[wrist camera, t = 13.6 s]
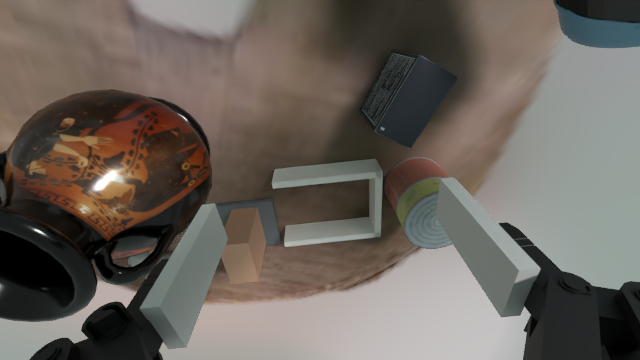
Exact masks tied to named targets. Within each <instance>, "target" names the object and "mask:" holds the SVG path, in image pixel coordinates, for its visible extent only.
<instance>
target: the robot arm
mask: <svg viewBox="0 0 640 360" xmlns="http://www.w3.org/2000/svg"><path fill="white" fill-rule="evenodd" d="M553 2H554V5H555V6H556V8H557V9H558V15H559V21H560V26H561V30H562V31H563V33H564V34H565V35H566V36H568V38H569V39H571V40H572V41H573V42H576V43H578V44H581V45H585V46H590V47H598V48H627V47H638V46H640V0H553ZM435 217H436V219H437V220H438V222H439V223H440V225H441V226H442V228H443V229H444V231H445V232H446V234H447V235H448V237H449V238H450V240H451V242H452V243H453V244H454V246H455V248H456V249H457V251H458V252H459V254H460V255H461V257H462V258H463V260H464V261H465V263H466V264H467V266H468V267H469V269H470V270H471V272H472V274H473V275H474V277H475V278H476V280H477V281H478V283H479V284H480V286H481V287H482V289H483V290H484V292H485V293H486V295H487V296H488V298H489V299H490V301H491V302H492V304H493V305H494V307H495V309H496V310H497V311H498V313H499V315H500V316H501V317H508V316H519V315H521V312H522V310H523V308H524V306H525V307H526V309H527V310H528V311H529V313H530V314H531V316H530V318H529V321H528V323H527V325H526V327H525V329H524V331H525V332H527V336H526V344H525V351H524V357H523V360H640V282H632V281H631V282H627V283H624V284H623V286H622V287H621V288H620V290H615V289H607V288H601V287H595V286H592V285H590V283H589V282H587V281H586V280H584V279H583V278H581V277H579V276H577V275H574V274H572V273H567V272H562V271H561V270H560V269H559V268H558V267H557V266H556V265H555V264H554V263H553V262H552V261H551V260H550V259H549V258H548V257H547V256H546V255H545V254H544V253H543V252H542V251H541V250H539V249H538V248H537V247H536V246H534V244H533V243H532V242H531V241H530V240H529V239H527V237H526V236H525V235H524V234H523V233H522V232H521V231H520V230H519V229H517V228H516V227H514V226H512V225H510V224H509V223H497V222H496V221H495V220H494V219H493V218H492V217H491V216H490V215H489V214H488V213H487V212H486V210H484V208H483V207H482V206H481V205H480V204H479V203H478V202H477V201H476V200H475V199H474V198H473V197H472V196H471V195H470V194H469V193H468V191H467V190H466V189H465V188H464V187H463V186H462V185H461V184H460V183H459V182H458V181H457V180H456V179H455V178H454V177H450V178H441V179H440V185H439V192H438V200H437V207H436V214H435ZM227 240H228V237H227V234H226V232H225V229H224V226H223V224H222V221H221V218H220V216H219V213H218V210H217V208H216V205H215V203H213V204H204V205H202V206H201V207H200V209H199V211H198V212H197V214H196V216H195V217H194V219H193V220H192V222H191V224H190V225H189V227H188V229H187V230H186V232H185V234H184V235H183V237H182V239H181V240H180V242H179V244H178V245H177V247H176V249H175V250H174V252H173V254H172V255H171V257H170V258H169V259H162V260H161V261H160V262H159V263H158V264H156V265H155V266H154V267H153V268H152V270H151V271H150V273H149V275H148V276H147V279H145V281H144V282H143V284H142V287H140V288H139V290H138V291H137V293H136V295H135V296H134V298H133V299H132V301H131V302H130V304H129V305H128V307H127V308H125V307H124V305H123V304H122V303H121V302H111V303H108V304H106V305H104V306H101V307H100V308H98V309H97V310H96V311H94V312H93V313H92V314H91V315H90V316H89V317H88V318H87V319H86V321H85V322H84V324H83V326H82V330H81V331H82V332H83V333H84V334H85V335H86V336H87V337H88V339H86V340H83V341H80V342H78V343H75V344H74V343H73V342H72V341H71V340H70V339H68V338H60V339H57V340H54V341H52V342H50V343H48V344H47V345H45V346H44V347H42V348H41V349H40V350H39V351H37V352H36V353H35V354H34V355H33V356H32V357H31V359H30V360H163V358H162V355H161V354H160V352H159V349H160V346H161V344H162V342H164V343H165V345H166V346H167V348H168V349H173V348H184V347H187V344H188V341H189V339H190V336H191V334H192V331H193V329H194V326H195V323H196V321H197V318H198V315H199V313H200V310H201V308H202V305H203V303H204V300H205V297H206V295H207V292H208V290H209V287H210V284H211V282H212V279H213V277H214V274H215V271H216V269H217V266H218V264H219V261H220V258H221V256H222V253H223V251H224V248H225V245H226V243H227Z"/></svg>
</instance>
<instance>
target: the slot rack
mask: <svg viewBox="0 0 640 360" xmlns="http://www.w3.org/2000/svg"><path fill="white" fill-rule="evenodd" d="M362 179H369V217H362V218H353V219H343V220H334V221H324V222H314V223H305V224H295V225H286V227H285V237H284V244H285V247H289V246H298V245H308V244H317V243H327V242H336V241H346V240H356V239H365V238H375V237H381V213H382V179H383V171H382V169H381V167H380V165H379V164H378V162H377V160H376V159H366V160H357V161H347V162H338V163H328V164H318V165H309V166H299V167H290V168H280V169H274V174H273V179H272V187H273V189H276V188H285V187H295V186H305V185H314V184H324V183H333V182H343V181H353V180H362Z"/></svg>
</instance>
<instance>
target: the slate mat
mask: <svg viewBox="0 0 640 360" xmlns="http://www.w3.org/2000/svg"><path fill="white" fill-rule="evenodd" d="M253 207H258V211H259V215H260V219H261V223H262V227H263V231H264V235H265V240H266V245H265V246H267V245H277V244H281V236H280V231H279V227H278V222H277V217H276V213H275V208H274V203H273V199H272V198H269V199H259V200H250V201H240V202H231V203H221V204H216V208H217V210H218V213H219V216H220V218H221V221H222V224H223V226H224V227H225V225H226V223H227V220H228V218H229V215H230V213H231V210H233V209H243V208H253Z"/></svg>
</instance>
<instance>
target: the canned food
mask: <svg viewBox="0 0 640 360" xmlns="http://www.w3.org/2000/svg"><path fill="white" fill-rule="evenodd" d="M441 178H450V177H449V176H448V175H447V174H446V173H445V172H444V171H443V170H442V169H441V168H440V167H439V166H438V164H437V163H436V162H434V161H433V160H431V159H429V158H425V157H413V158H409V159H406V160H404V161H402V162H400V163H398V164H397V165H396V166H395V167H394V168H393V169H392V170H391V171H390V172H389V174H388V175H387V177H386V180H385V184H384V190H385V194H386V196H387V198H388V199H389V201H390V203H391V205H392V207H393V209H394V211H395V213H396V215H397V217H398V219H399V221H400V223H401V225H402V227H403V229H404V232H405V234H406V237H407V238H408V240H409V241H410V242H411V243H413V244H414V245H416V246H418V247H421V248H427V249H436V248H441V247H445V246H448V245H451V244H453V243H452V242H451V240H450V238H449V237H448V235H447V234H446V232H445V231H444V229H443V228H442V226H441V225H440V223H439V222H438V220H437V219H436V217H435V214H436V207H437V200H438V192H439V185H440V179H441Z"/></svg>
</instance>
